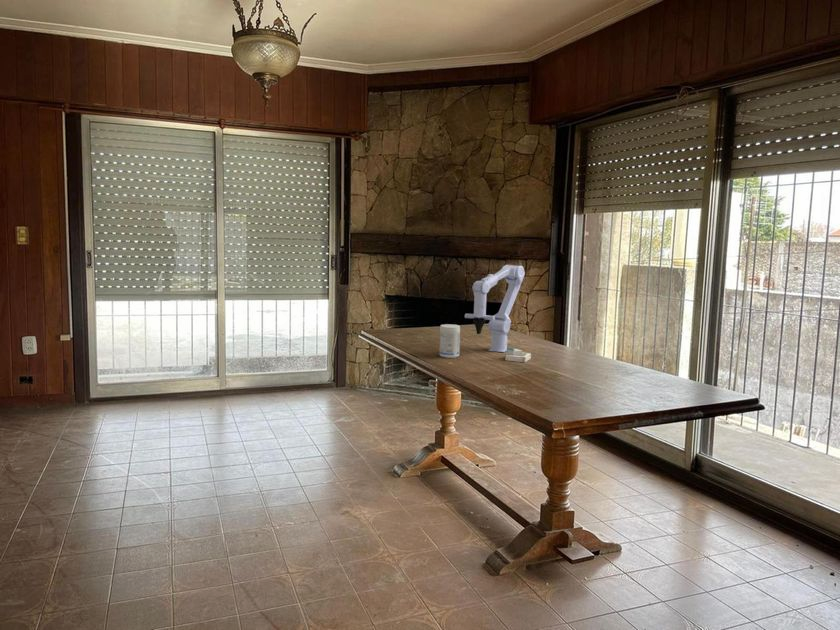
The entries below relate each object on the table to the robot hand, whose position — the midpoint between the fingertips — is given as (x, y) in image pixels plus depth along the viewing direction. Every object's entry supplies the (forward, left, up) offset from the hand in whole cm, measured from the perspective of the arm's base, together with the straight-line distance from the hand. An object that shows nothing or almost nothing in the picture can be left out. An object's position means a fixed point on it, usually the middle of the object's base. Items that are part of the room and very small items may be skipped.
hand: (478, 333), depth 308 cm
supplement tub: (+13, -10, -10) cm, 19 cm away
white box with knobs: (+2, +19, -10) cm, 21 cm away
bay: (+2, +20, -10) cm, 22 cm away
